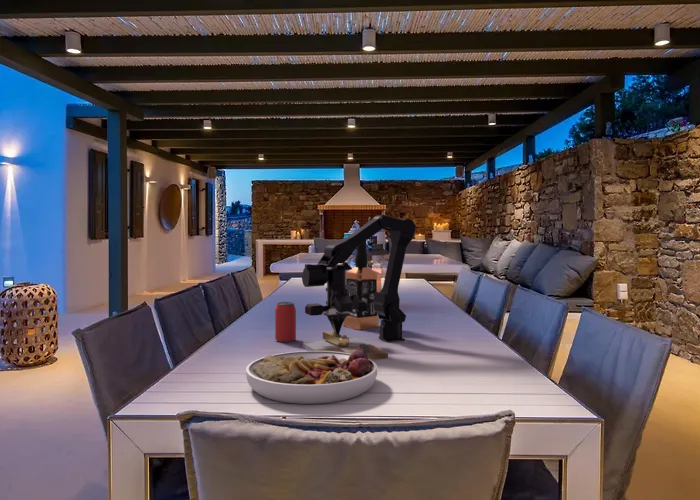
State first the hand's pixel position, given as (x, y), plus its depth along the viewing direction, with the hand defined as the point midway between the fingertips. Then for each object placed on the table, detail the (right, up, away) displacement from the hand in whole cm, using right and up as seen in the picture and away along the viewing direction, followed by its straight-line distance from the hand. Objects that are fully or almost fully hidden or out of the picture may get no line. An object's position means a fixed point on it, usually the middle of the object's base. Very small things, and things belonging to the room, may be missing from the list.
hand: (337, 335), depth 164 cm
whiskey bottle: (+8, -2, +31) cm, 32 cm away
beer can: (-17, -3, +8) cm, 19 cm away
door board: (+4, -4, -13) cm, 15 cm away
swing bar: (0, -1, -4) cm, 4 cm away
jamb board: (0, -3, -4) cm, 6 cm away
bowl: (-5, -6, -41) cm, 41 cm away
